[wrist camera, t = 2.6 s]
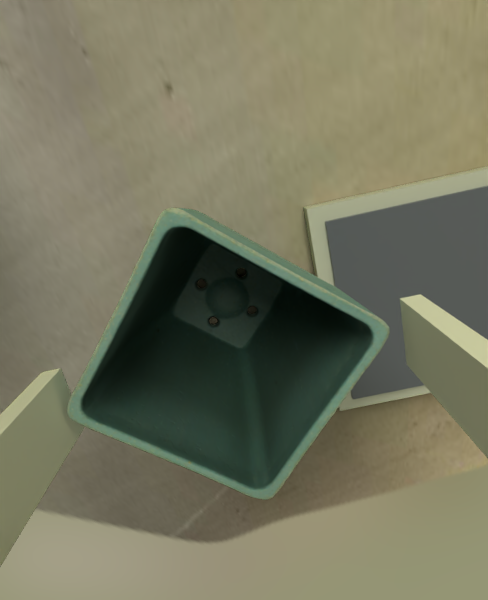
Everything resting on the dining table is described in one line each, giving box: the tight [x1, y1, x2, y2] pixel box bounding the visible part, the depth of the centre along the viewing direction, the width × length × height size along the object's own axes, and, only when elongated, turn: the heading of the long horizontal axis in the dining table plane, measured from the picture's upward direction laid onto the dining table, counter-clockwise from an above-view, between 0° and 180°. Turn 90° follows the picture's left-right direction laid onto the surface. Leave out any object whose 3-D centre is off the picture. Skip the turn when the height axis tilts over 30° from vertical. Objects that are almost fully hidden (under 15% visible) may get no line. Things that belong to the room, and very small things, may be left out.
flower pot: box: [67, 208, 390, 500], centre depth 19 cm, size 9×9×9 cm
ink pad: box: [303, 166, 488, 411], centre depth 22 cm, size 12×12×1 cm
